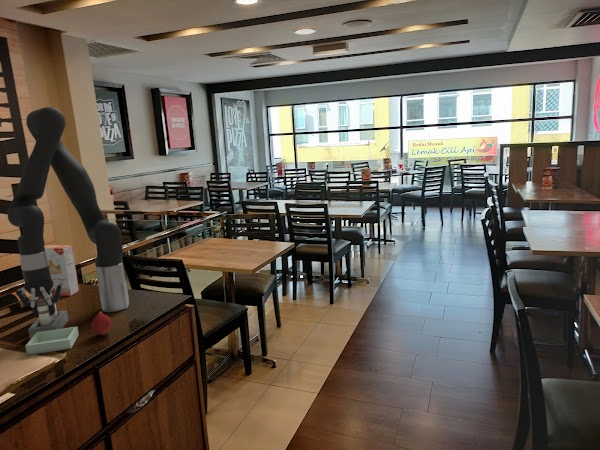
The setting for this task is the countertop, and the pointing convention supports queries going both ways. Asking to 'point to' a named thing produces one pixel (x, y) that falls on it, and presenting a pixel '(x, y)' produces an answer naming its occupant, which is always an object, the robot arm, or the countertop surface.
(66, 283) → the cracker box
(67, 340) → the parts tray
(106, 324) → the onion
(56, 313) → the ball
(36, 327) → the block
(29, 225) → the robot arm
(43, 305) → the cylinder
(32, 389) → the countertop surface
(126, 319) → the countertop surface
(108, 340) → the countertop surface
